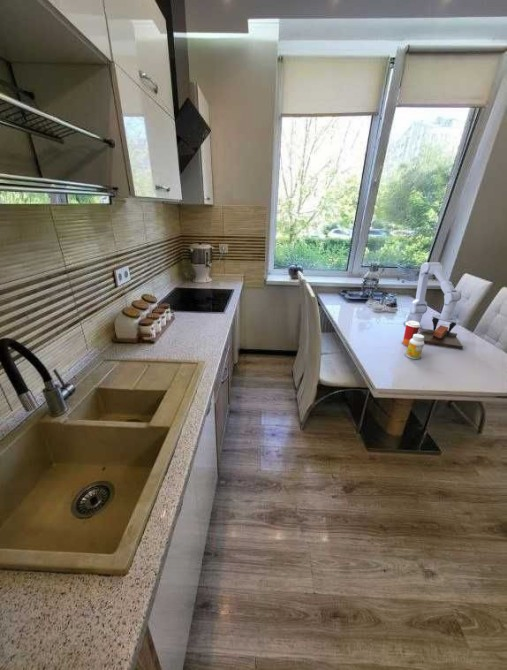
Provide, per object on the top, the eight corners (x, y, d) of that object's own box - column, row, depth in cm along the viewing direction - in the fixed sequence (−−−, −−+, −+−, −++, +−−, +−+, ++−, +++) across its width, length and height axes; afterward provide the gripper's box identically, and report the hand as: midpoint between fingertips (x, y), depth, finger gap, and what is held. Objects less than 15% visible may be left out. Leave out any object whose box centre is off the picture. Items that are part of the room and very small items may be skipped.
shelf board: (423, 343, 168) (425, 337, 166) (419, 333, 181) (421, 327, 180) (461, 349, 161) (464, 343, 160) (454, 338, 175) (456, 333, 173)
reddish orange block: (440, 339, 168) (442, 333, 166) (432, 337, 171) (434, 331, 169) (447, 332, 173) (449, 326, 171) (439, 329, 176) (441, 323, 174)
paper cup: (413, 342, 169) (419, 321, 163) (416, 347, 162) (422, 326, 156) (399, 340, 171) (405, 319, 165) (401, 345, 164) (407, 324, 159)
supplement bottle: (403, 353, 156) (409, 332, 151) (415, 353, 156) (421, 333, 151) (409, 359, 150) (415, 338, 144) (422, 359, 149) (428, 338, 144)
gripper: (464, 313, 163) (456, 333, 169) (437, 306, 173) (430, 326, 179) (460, 315, 159) (452, 336, 164) (432, 309, 169) (426, 329, 174)
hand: (441, 331), depth 171 cm, fingers open, 7 cm apart
